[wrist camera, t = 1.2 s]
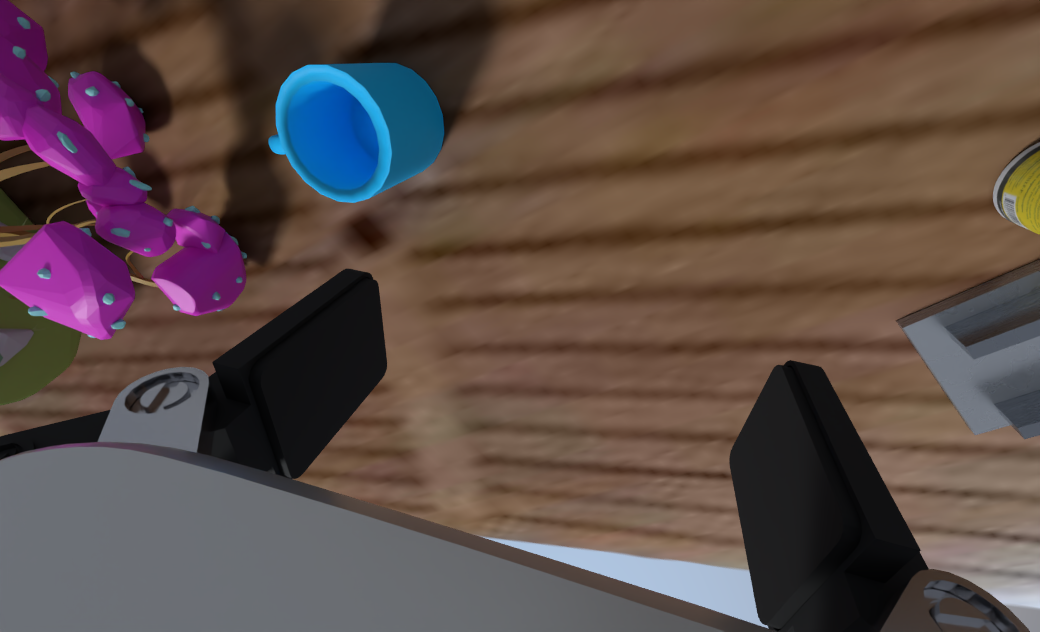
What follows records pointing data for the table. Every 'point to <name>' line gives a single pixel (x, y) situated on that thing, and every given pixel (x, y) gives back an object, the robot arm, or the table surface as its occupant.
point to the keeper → (986, 350)
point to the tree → (119, 219)
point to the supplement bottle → (1020, 190)
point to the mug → (357, 127)
